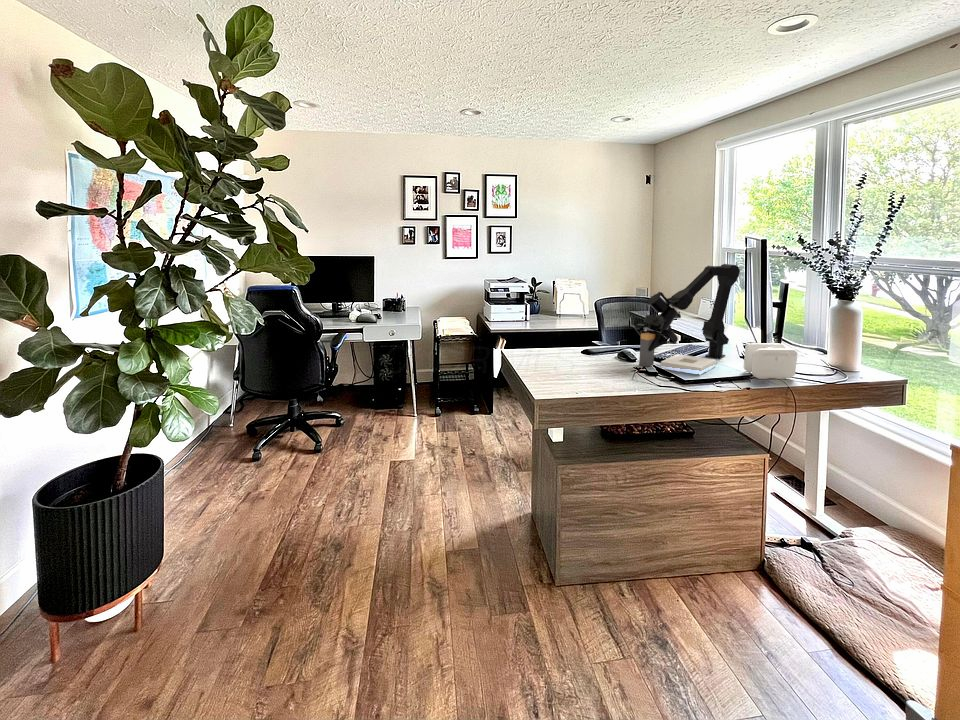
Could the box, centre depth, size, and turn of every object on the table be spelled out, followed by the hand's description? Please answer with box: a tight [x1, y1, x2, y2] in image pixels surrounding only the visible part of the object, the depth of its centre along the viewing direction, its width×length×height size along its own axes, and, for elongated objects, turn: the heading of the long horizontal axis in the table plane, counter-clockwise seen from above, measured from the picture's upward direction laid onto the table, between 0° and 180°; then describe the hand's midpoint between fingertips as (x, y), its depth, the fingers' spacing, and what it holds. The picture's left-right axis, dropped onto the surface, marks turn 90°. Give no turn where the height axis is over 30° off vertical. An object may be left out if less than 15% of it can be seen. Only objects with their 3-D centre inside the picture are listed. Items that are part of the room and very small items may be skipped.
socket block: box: [660, 353, 717, 371], centre depth 225 cm, size 16×16×3 cm
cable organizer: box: [743, 342, 798, 380], centre depth 211 cm, size 15×11×12 cm
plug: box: [638, 333, 655, 368], centre depth 229 cm, size 4×4×13 cm
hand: (644, 349), depth 228 cm, fingers closed on plug, 4 cm apart
